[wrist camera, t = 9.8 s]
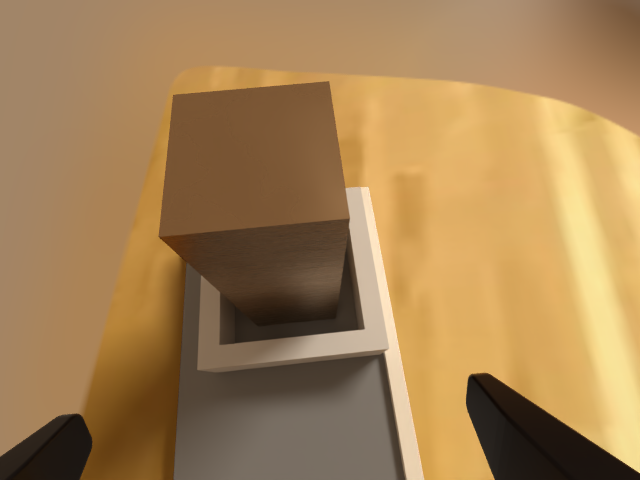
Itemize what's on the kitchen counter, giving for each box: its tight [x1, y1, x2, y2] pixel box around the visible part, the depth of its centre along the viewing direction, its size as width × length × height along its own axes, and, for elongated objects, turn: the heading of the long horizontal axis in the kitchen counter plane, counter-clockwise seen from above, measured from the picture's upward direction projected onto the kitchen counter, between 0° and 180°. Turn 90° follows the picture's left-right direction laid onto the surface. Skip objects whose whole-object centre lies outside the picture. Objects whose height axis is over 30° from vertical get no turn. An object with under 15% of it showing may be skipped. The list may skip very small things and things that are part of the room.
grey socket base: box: [173, 187, 424, 480], centre depth 18 cm, size 20×12×4 cm, turn 6°
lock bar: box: [159, 81, 350, 326], centre depth 15 cm, size 4×4×12 cm
